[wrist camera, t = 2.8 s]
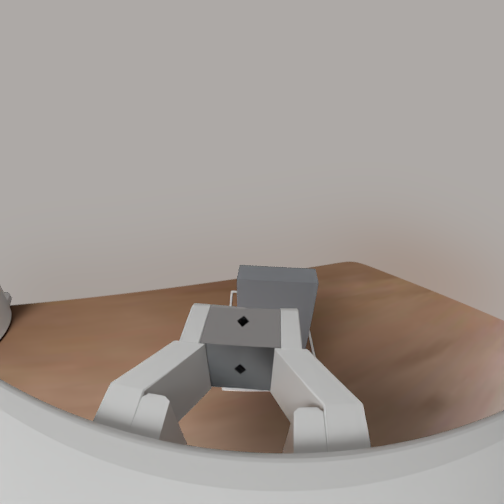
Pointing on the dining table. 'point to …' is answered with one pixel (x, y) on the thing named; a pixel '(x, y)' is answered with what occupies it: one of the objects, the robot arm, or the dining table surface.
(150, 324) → the dining table surface
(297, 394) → the robot arm
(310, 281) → the tile
